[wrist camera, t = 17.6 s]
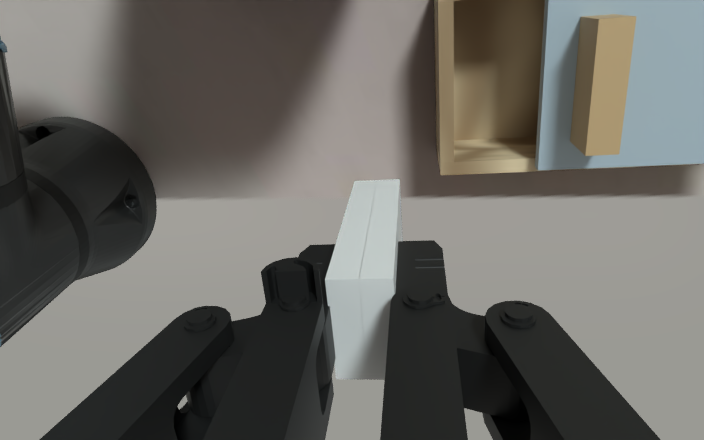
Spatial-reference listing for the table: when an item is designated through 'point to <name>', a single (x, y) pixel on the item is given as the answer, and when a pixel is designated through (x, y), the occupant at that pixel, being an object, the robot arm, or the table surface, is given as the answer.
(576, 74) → the lid
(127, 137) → the table surface
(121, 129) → the table surface
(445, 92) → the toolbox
